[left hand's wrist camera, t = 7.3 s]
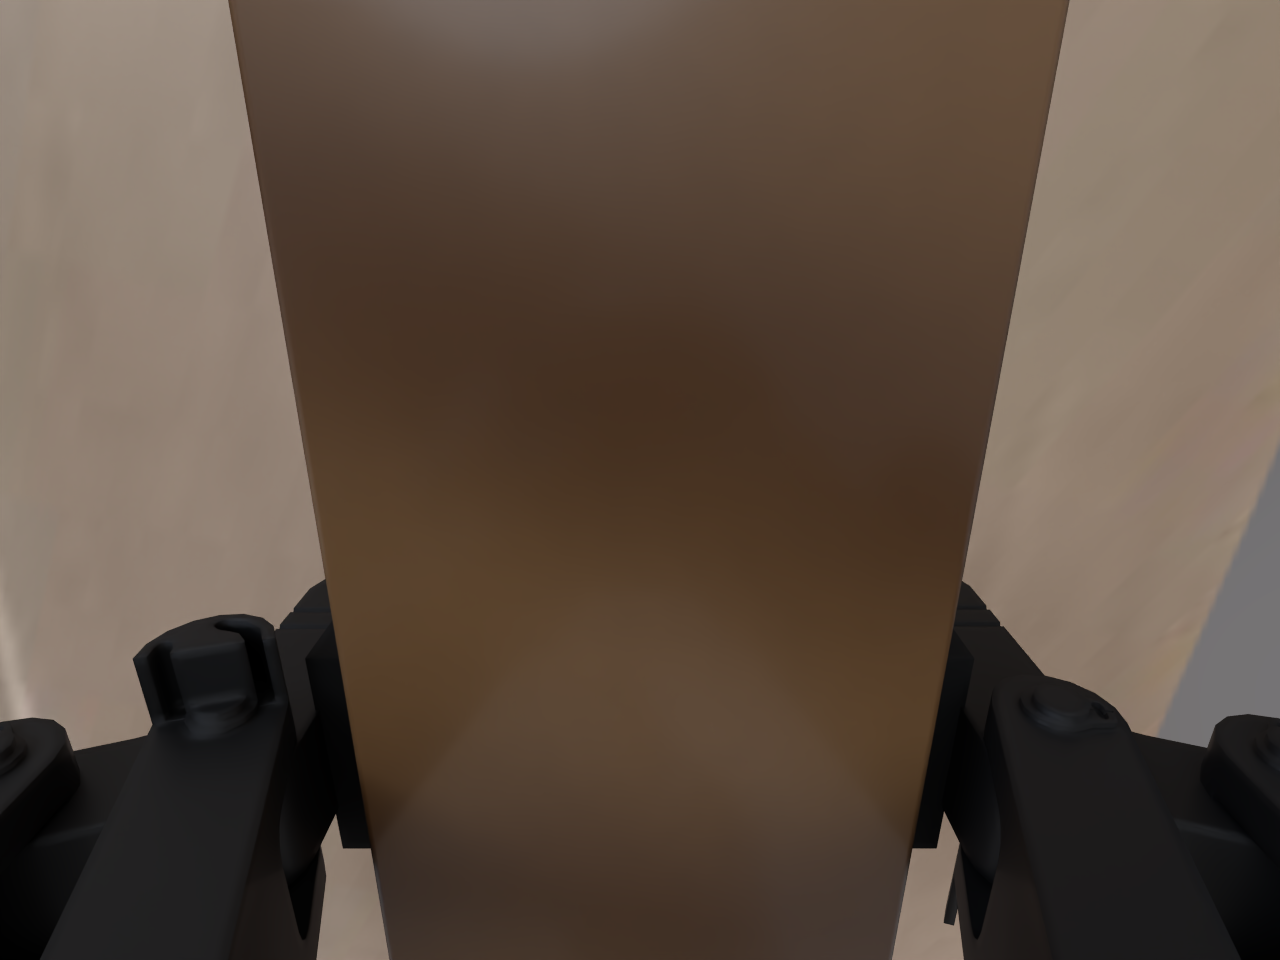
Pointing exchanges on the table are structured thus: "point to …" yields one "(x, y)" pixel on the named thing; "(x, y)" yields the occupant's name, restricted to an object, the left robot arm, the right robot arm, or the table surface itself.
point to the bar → (645, 439)
